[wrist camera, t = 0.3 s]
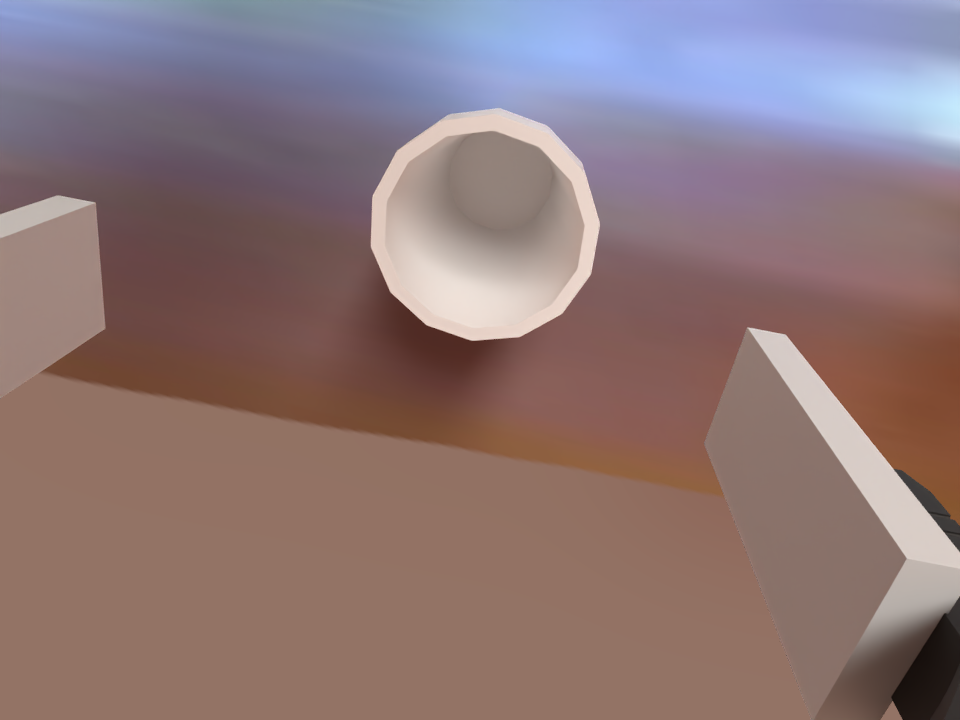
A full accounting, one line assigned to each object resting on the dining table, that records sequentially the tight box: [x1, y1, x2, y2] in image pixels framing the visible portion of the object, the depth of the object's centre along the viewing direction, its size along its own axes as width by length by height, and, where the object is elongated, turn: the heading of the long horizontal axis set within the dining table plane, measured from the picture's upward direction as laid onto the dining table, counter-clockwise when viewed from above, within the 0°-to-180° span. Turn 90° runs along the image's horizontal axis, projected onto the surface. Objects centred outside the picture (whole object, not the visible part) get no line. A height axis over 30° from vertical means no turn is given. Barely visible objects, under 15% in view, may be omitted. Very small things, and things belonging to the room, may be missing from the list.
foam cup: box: [371, 108, 600, 341], centre depth 34 cm, size 10×9×13 cm
